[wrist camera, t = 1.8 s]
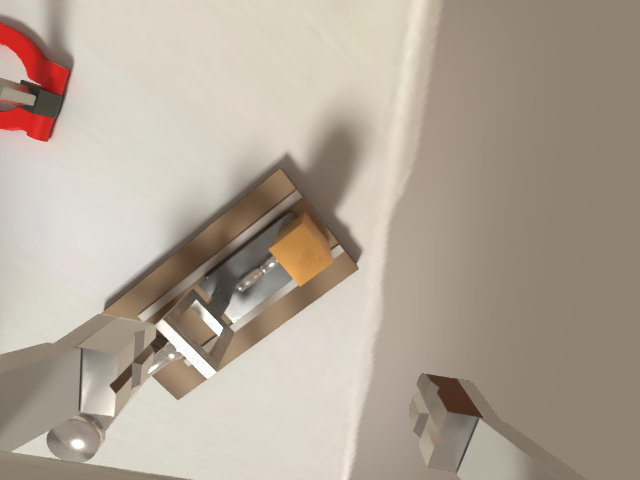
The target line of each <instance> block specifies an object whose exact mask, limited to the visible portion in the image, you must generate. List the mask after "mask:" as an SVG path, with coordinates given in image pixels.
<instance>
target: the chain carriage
mask: <svg viewBox="0 0 640 480" xmlns="http://www.w3.org/2000/svg"><path fill="white" fill-rule="evenodd" d="M332 263H333V258H332V254H331V249H330V245H329V241H328V240H327V239H326V238H325V236H324V235H323V234H322V233H321V231H320V230H319V229H318V228H317V226H316V225H315V224H314V222H313V221H312V220H311V219H310V217H309V216H308V215H307V214H306V212H303V213H302V214H301V215H300V216H298V217H296V215H295V214H294V213H293V212H292V210H291V211H290V212H288V213H287V214H286V215H285V216H283V217H282V218H281V219H279V220H278V221H277V222H276V223H274V224H273V225H272V226H271V227H269V228H268V229H267V230H265V231H264V232H263V233H262V234H260V235H259V236H258V237H257V238H255V239H254V240H253V241H251V242H250V243H249V244H248V245H246V246H245V247H244V248H242V249H241V250H240V251H239V252H237V253H236V254H235V255H234V256H232V257H231V258H230V259H228V260H227V261H226V262H225V263H223V264H222V265H221V266H220V267H218V268H217V269H216V270H214V271H213V272H212V273H211V274H209V275H208V276H207V277H205V278H204V279H203V280H202V281H201V282H200V283H199V284H198V285H199V287H200V288H201V289H202V290H203V291H204V292H205V293H206V294H207V295H208V296H209V297H210V299H209V300H208V302H206V301H205V300H204V299H203V298H202V297H201V296H200V295H199V294H198V293H197V292H196V291H195V290H194V289H192V290H191V291H190V292H188V293H187V294H186V295H185V296H184V297H183V298H182V299H181V300H180V301H179V302H178V303H177V304H176V305H175V306H174V307H173V308H172V309H171V310H170V311H169V312H168V313H167V314H166V315H165V316H164V317H163V318H162V319H161V320H160V321H159V322H158V323H156V324H155V326H156V328H157V329H158V330H159V331H160V332H161V333H162V334H163V335H164V336H165V337H166V338H167V339H168V340H169V341H170V342H171V343H172V344H173V345H174V346H175V347H176V348H177V349H178V350H179V351H180V352H181V353H182V354H183V355H184V356H185V357H186V358H187V359H188V360H189V361H190V362H191V363H192V364H193V365H194V366H195V367H196V368H197V369H198V370H199V371H200V372H201V373H202V374H203V375H204V376H205V377H206V378H209V377H210V376H211V375H213V374H214V373H215V372H216V371H217V369H218V367H219V365H220V363H221V361H222V358H223V356H224V354H225V352H226V350H227V348H228V346H229V344H230V342H231V340H232V338H233V336H234V333H235V332H234V331H233V330H232V329H231V328H230V327H229V326H228V325H227V324H226V323H225V322H224V320H223V319H222V318H221V317H222V315H223V314H224V313H225V314H226V315H227V316H228V317H229V319H230V320H231V321H232V322H233V323H235V322H236V321H237V320H239V319H240V318H241V317H243V316H244V315H245V314H247V313H248V312H249V311H251V310H252V309H253V308H255V307H256V306H257V305H259V304H260V303H261V302H263V301H264V300H265V299H267V298H268V297H269V296H271V295H272V294H273V293H275V292H276V291H278V290H279V289H280V288H282V287H283V286H284V285H286V284H287V283H288V282H290V281H291V280H292V279H294V280H295V282H296V283H297V284H298V285H299V286H300V287H301V286H302V285H303V284H305V283H306V282H307V281H309V280H310V279H311V278H313V277H314V276H315V275H317V274H318V273H319V272H321V271H322V270H324V269H325V268H326V267H328V266H329V265H330V264H332ZM189 307H191V308H192V309H193V310H194V311H195V312H196V313H197V314H198V315H199V316H200V317H201V318H202V319H203V320H204V321H205V322H206V323H207V324H208V325H209V326H210V327H211V328H212V330H213V331H214V332H215V333H216V334H217V335H218V336H219V337H218V339H217V341H216V342H215V344H214V346H213V348H212V349H211V351H210V353H209V354H208V353H207V352H206V351H205V350H204V349H203V348H202V347H201V346H200V345H199V344H198V343H197V342H196V341H195V340H194V339H193V338H192V337H191V336H190V335H189V334H188V333H187V332H186V331H185V330H184V329H183V328H182V327H181V326H180V325H179V324H178V323H177V321H178V320H179V318H180V317H181V316H182V315H183V314H184V313H185V312H186V311H187V310H188V308H189Z"/></svg>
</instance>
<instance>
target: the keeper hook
mask: <svg viewBox="0 0 640 480" xmlns="http://www.w3.org/2000/svg"><path fill="white" fill-rule="evenodd" d="M150 345H151V346H152V348H153V350H154V358H153V362H152V366H151V368H150V370H149V372H148V374H147V376H146V378H145V379H144V380H143V382H142V383H141V384H140V385H139V386H136V387H134V388H132V389H131V394H130V398H129V399H128V400H127V401H126V403H125V404H124V405H123V406H122V408H121V409H120V410H119V411H118V412H117V414H116V415H115V416H106V415H98V414H90V413H83V412H79V413H78V414H77V415H76V416H74V417H72V418H70V419H68V420H67V421H65V422H63V423H61V424H59V425H58V426H56V427H54V428H52V429H51V430H50V431H49V433H48V435H47V445H48V447H49V449H50V451H51V452H52V453H53V454H54V455H55V456H56V457H58V458H60V459H62V460H65V461H72V462H79V463H81V462H85V461H87V460H89V459H91V458H92V457H93V456H94V455H95V453H96V452H97V451H98V450H99V448H100V447H101V446H102V444H103V443H104V441H105V431H106V430H107V429H108V427H109V426H110V425H111V424H112V422H113V421H114V420H115V418H116V417H117V416H118V415H119V413H120V412H121V411H122V410H123V408H124V407H125V406H126V405H127V403H128V402H129V401H130V400H131V398H132V397H133V396H134V395H135V393H136V392H137V391H138V390H139V388H140V387H141V386H142V384H143V383H144V382H145V381H146V379H148V378H149V377H150V376H152V375H153V374H154V373H156V372H157V371H158V370H160V369H161V368H162V367H164V366H165V365H166V364H168V363H169V362H170V361H172V360H178V359H180V358H181V357H183V356H184V355H183V354H182V353H181V352H180V351H179V350H178V349H177V348H176V347H175V346H174V345H173V344H172V343H171V342H170V341H168V340H167V339H166V338H164V337H163V336H159V335H156V338H155V339H154V340H153V341H152V342H151V343H150Z"/></svg>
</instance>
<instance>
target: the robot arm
mask: <svg viewBox="0 0 640 480" xmlns="http://www.w3.org/2000/svg"><path fill="white" fill-rule="evenodd" d="M155 338H156V326H155V325H154V324H152V323H147V322H143V321H138V320H133V319H128V318H123V317H118V316H113V315H107V314H98V315H96V316H95V317H93V318H92V319H90V320H88V321H87V322H85V323H84V324H82V325H81V326H79V327H78V328H76V329H75V330H73V331H72V332H70V333H69V334H67V335H66V336H64V337H63V338H61V339H60V340H58V341H57V342H55V343H43V344H40V345H36V346H32V347H28V348H24V349H20V350H17V351H13V352H9V353H5V354H1V355H0V480H191V479H185V478H178V477H172V476H165V475H158V474H152V473H145V472H138V471H132V470H125V469H118V468H112V467H105V466H98V465H92V464H85V463H79V462H72V461H65V460H59V459H52V458H45V457H39V456H32V455H25V454H19V453H12V452H11V451H13V450H15V449H17V448H18V447H20V446H22V445H24V444H26V443H27V442H29V441H31V440H33V439H34V438H36V437H38V436H40V435H42V434H43V433H45V432H47V431H49V430H51V429H52V428H54V427H56V426H58V425H59V424H61V423H63V422H65V421H67V420H68V419H70V418H72V417H74V416H76V415H77V414H78V413H79V412H83V413H90V414H98V415H106V416H115V415H116V414H117V412H118V411H119V410H120V409H121V408H122V406H123V405H124V404H125V403H126V401H127V400H128V399H129V398H130V394H131V389H132V388H134V387H136V386H139V385H140V384H141V383H142V382H143V380H144V379H145V378H146V376H147V374H148V372H149V370H150V368H151V366H152V362H153V358H154V350H153V348H152V346H151V345H150V343H151V342H152V341H153V340H154V339H155ZM417 386H418V389H419V392H418V393H416V394H415V395H414V396H413V397H412V400H411V403H410V414H409V416H410V422H411V426H412V429H413V431H414V432H415V433H416V434H417V435H418V436H419V437H420V438H421V439H420V442H419V447H420V450H421V452H422V455H423V457H424V460H425V463H426V466H427V467H430V468H434V469H440V470H445V471H450V472H455V473H457V475H458V476H459V477H460V479H461V480H588V479H586V478H585V477H583V476H582V475H580V474H579V473H577V472H576V471H575V470H573V469H572V468H571V467H569V466H568V465H566V464H565V463H564V462H562V461H561V460H559V459H558V458H557V457H555V456H554V455H552V454H551V453H550V452H548V451H547V450H545V449H544V448H543V447H541V446H540V445H538V444H537V443H535V442H534V441H533V440H531V439H530V438H528V437H527V436H526V435H524V434H523V433H521V432H520V431H518V430H517V429H516V428H514V427H513V426H511V425H510V424H508V423H506V422H502V420H501V419H500V418H499V416H498V415H497V414H496V412H495V411H494V410H493V409H492V407H491V406H490V404H489V403H488V402H487V400H486V399H485V398H484V396H483V395H482V394H481V392H480V391H479V390H478V388H477V387H476V386H475V384H474V383H473V382H471V381H469V380H464V379H457V378H449V377H443V376H436V375H430V374H424V373H422V374H421V375H420V377H419V379H418V382H417Z"/></svg>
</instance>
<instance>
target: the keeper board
mask: <svg viewBox="0 0 640 480" xmlns="http://www.w3.org/2000/svg"><path fill="white" fill-rule="evenodd" d="M291 210H292V212H293V213H294V214H295V215H296V217H298V216H300V215H301V214H302V213H303V212H306V214H307V215H308V216H309V217H310V219H311V220H312V221H313V222H314V224H315V225H316V226H317V228H318V229H319V230H320V231H321V233H322V234H323V235H324V236H325V238H326V239H327V240H328V241H329V245H330V249H331V254H332V258H333V263H332V264H330V265H329V266H328V267H326V268H325V269H324V270H322V271H321V272H319V273H318V274H317V275H315V276H314V277H313V278H311V279H310V280H309V281H307V282H306V283H305V284H303V285H302V286H301V287H300V286H299V285H298V284H297V283H296V282H295V280H294V279H292V280H291V281H290V282H288V283H287V284H286V285H284V286H283V287H282V288H280V289H279V290H278V291H276V292H275V293H273V294H272V295H271V296H269V297H268V298H267V299H265V300H264V301H263V302H261V303H260V304H259V305H257V306H256V307H255V308H253V309H252V310H251V311H249V312H248V313H247V314H245V315H244V316H243V317H241V318H240V319H239V320H237V321H236V322H235V323H233V322H232V321H231V320H230V319H229V317H228V316H227V315H226V314H225V313H224V314H223V315H222V317H221V318H222V319H223V320H224V322H225V323H226V324H227V325H228V326H229V327H230V328H231V329H232V330H233V331H234V332H235V333H234V336H233V338H232V340H231V342H230V344H229V346H228V348H227V350H226V352H225V354H224V356H223V358H222V361H221V363H220V365H219V367H218V369H217V371H216V372H218V371H219V370H220V369H222V368H223V367H225V366H226V365H227V364H229V363H230V362H231V361H233V360H234V359H236V358H237V357H238V356H240V355H241V354H242V353H244V352H245V351H247V350H248V349H249V348H251V347H252V346H253V345H255V344H256V343H258V342H259V341H260V340H262V339H263V338H264V337H266V336H267V335H269V334H270V333H271V332H273V331H274V330H275V329H277V328H278V327H280V326H281V325H282V324H284V323H285V322H286V321H288V320H289V319H291V318H292V317H293V316H295V315H296V314H297V313H299V312H300V311H302V310H303V309H304V308H306V307H307V306H309V305H310V304H311V303H313V302H314V301H315V300H317V299H318V298H320V297H321V296H322V295H324V294H325V293H326V292H328V291H329V290H331V289H332V288H333V287H335V286H336V285H337V284H339V283H340V282H342V281H343V280H344V279H346V278H347V277H348V276H350V275H351V274H353V273H354V272H355V271H357V270H358V269H359V268H358V266H357V264H356V263H355V262H354V260H353V259H352V258H351V256H350V255H349V254H348V253H347V251H346V250H345V249H344V248H343V246H342V245H341V244H340V242H339V241H338V240H337V239H336V237H335V236H334V235H333V233H332V232H331V231H330V230H329V228H328V227H327V226H326V224H325V223H324V222H323V221H322V219H321V218H320V217H319V216H318V214H317V213H316V212H315V210H314V209H313V208H312V207H311V205H310V204H309V203H308V201H307V200H306V199H305V198H304V196H303V195H302V194H301V192H300V191H299V190H298V189H297V187H296V186H295V185H294V184H293V182H292V181H291V180H290V178H289V177H288V176H287V175H286V173H285V172H284V171H283V169H279V170H278V171H276V172H275V173H274V174H273V175H271V176H270V177H269V178H268V179H267V180H265V181H264V182H263V183H262V184H260V185H259V186H258V187H257V188H255V189H254V190H253V191H252V192H250V193H249V194H248V195H247V196H246V197H244V198H243V199H242V200H241V201H239V202H238V203H237V204H236V205H234V206H233V207H232V208H231V209H230V210H228V211H227V212H226V213H225V214H223V215H222V216H221V217H220V218H218V219H217V220H216V221H215V222H213V223H212V224H211V225H210V226H209V227H207V228H206V229H205V230H204V231H202V232H201V233H200V234H199V235H197V236H196V237H195V238H194V239H193V240H191V241H190V242H189V243H188V244H186V245H185V246H184V247H183V248H181V249H180V250H179V251H178V252H176V253H175V254H174V255H173V256H172V257H170V258H169V259H168V260H167V261H165V262H164V263H163V264H162V265H160V266H159V267H158V268H157V269H156V270H154V271H153V272H152V273H151V274H149V275H148V276H147V277H146V278H144V279H143V280H142V281H141V282H139V283H138V284H137V285H136V286H135V287H133V288H132V289H131V290H130V291H128V292H127V293H126V294H125V295H123V296H122V297H121V298H120V299H119V300H117V301H116V302H115V303H114V304H112V305H111V306H110V307H109V308H107V309H106V310H105V311H104V312H102V313H101V314H107V315H113V316H118V317H123V318H128V319H133V320H138V321H143V322H147V323H152V324H154V325H155V324H156V323H158V322H159V321H160V320H161V319H162V318H163V317H164V316H165V315H166V314H167V313H168V312H169V311H170V310H171V309H172V308H173V307H174V306H175V305H176V304H177V303H178V302H179V301H180V300H181V299H182V298H183V297H184V296H185V295H186V294H187V293H188V292H190V291H191V290H192V289H194V290H195V291H196V292H197V293H198V294H199V295H200V296H201V297H202V298H203V299H204V300H205V301H206V302H208V300H209V299H210V297H209V296H208V295H207V294H206V293H205V292H204V291H203V290H202V289H201V288H200V287H199V285H198V284H199V283H200V282H201V281H202V280H203V279H204V278H205V277H207V276H208V275H209V274H211V273H212V272H213V271H214V270H216V269H217V268H218V267H220V266H221V265H222V264H223V263H225V262H226V261H227V260H228V259H230V258H231V257H232V256H234V255H235V254H236V253H237V252H239V251H240V250H241V249H242V248H244V247H245V246H246V245H248V244H249V243H250V242H251V241H253V240H254V239H255V238H257V237H258V236H259V235H260V234H262V233H263V232H264V231H265V230H267V229H268V228H269V227H271V226H272V225H273V224H274V223H276V222H277V221H278V220H279V219H281V218H282V217H283V216H285V215H286V214H287V213H288V212H290V211H291ZM177 323H178V324H179V325H180V326H181V327H182V328H183V329H184V330H185V331H186V332H187V333H188V334H189V335H190V336H191V337H192V338H193V339H194V340H195V341H196V342H197V343H198V344H199V345H200V346H201V347H202V348H203V349H204V350H205V351H206V352H207V353H208V354H209V353H210V351H211V349H212V348H213V346H214V344H215V342H216V341H217V339H218V337H219V336H218V335H217V334H216V333H215V332H214V331H213V330H212V328H211V327H210V326H209V325H208V324H207V323H206V322H205V321H204V320H203V319H202V318H201V317H200V316H199V315H198V314H197V313H196V312H195V311H194V310H193V309H192V308H191V307H189V308H188V310H187V311H186V312H185V313H184V314H183V315H182V316H181V317H180V318H179V320H178V321H177ZM156 335H159V336H163V337H164V338H166V337H165V336H164V335H163V334H162V333H161V332H160V331H159V330H158V329H157V328H156ZM166 339H167V338H166ZM167 340H168V339H167ZM168 341H169V340H168ZM216 372H215V373H216ZM215 373H214V374H215ZM214 374H213V375H214ZM211 376H212V375H211ZM211 376H210V377H211ZM152 377H154V378H155V379H156V380H157V381H158V382H159V383H160V384H161V385H162V386H163V387H164V388H165V389H166V390H167V391H168V392H170V393H171V394H172V395H173V396H174V397H175V398H176V399H177V400H179V399H180V398H182V397H183V396H185V395H186V394H187V393H189V392H190V391H191V390H193V389H194V388H196V387H197V386H198V385H200V384H201V383H203V382H204V381H205V380H207V379H208V378H206V377H205V376H204V375H203V374H202V373H201V372H200V371H199V370H198V369H197V368H196V367H195V366H194V365H193V364H192V363H191V362H190V361H189V360H188V359H187V358H186V357H185V356H183V357H181V358H180V359H178V360H172V361H170V362H169V363H168V364H166V365H165V366H164V367H162V368H161V369H160V370H158V371H157V372H156V373H154V374H153V375H152Z"/></svg>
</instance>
